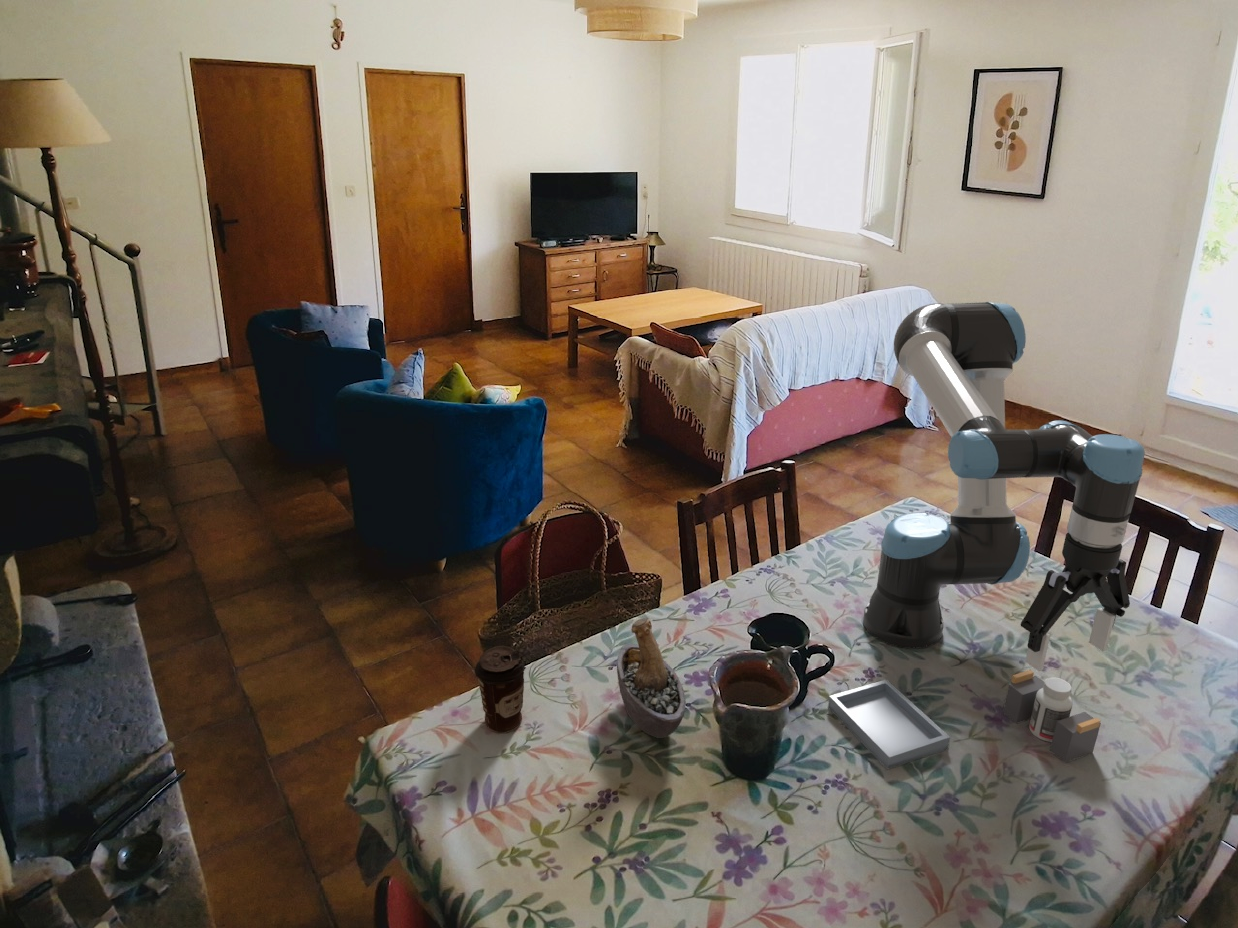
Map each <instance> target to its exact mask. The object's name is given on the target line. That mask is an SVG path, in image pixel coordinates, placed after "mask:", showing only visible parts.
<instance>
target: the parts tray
mask: <svg viewBox="0 0 1238 928" xmlns="http://www.w3.org/2000/svg"><path fill="white" fill-rule="evenodd" d="M827 708H828V709H829V710H830V712H832V713H833V714H834V715H835V716H836V718H838V719H839V721H840V722H842V724H843V725H844V726H845V727H846V728H847V729H848V730H849V731H850V733H852V734H853V735H854V737H856V738H857V740H858V741H860V742H861V744H863V746H864V747H865V748H866V749H867V750H868V752H870V753H871V754H872V755H873V756H874V757H875V759H877V761H879V763H880V764H882V766H883V767H884V768H885V769H886V770H887V771H888V770H890V769H893V768H894V769H895V768H896V767H899V766H900V767H901V766H902V765H905V764H908V763H911V762H914V761H918V760H920V759H922V758H927V757H929V756H932V755H935V754H938V753H941V752H944V751H947V750H949V745H950V739H951V737H950V736H949V734H947V732H946V731H944V730H943V729H942V728H941V727H940V726H938V725H937V723H936V722H934V721H933V720H932V719H930V717H929V716H928V715H926V714H925V713H924V712H923V711H922V710H921V709H920V708H918V707H917V705H915V704H914V702H912V701H911V700H910V699H909V698H908V697H907V696H905V695H904V694H903V693H902V692H901V691H900V690H899V689H898V688H896V687H895V686H894V685H893V684H892V683H891V682H890V681H889V680H888V679H887V678H886V679H883V680H879V681H877V682H872V683H869V684H866V685H862V686H859V687H856V688H852V689H849V690H848V689H847V690H845V691H842V692H837V693H834V694H832V695H829V697H828V705H827Z"/></svg>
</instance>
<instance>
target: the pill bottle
mask: <svg viewBox="0 0 1238 928" xmlns="http://www.w3.org/2000/svg"><path fill="white" fill-rule="evenodd" d="M1071 692H1072V686H1071V684H1070V683H1069V682H1068V681H1066V680H1064V679H1062V678H1059V677H1051V676H1050V677H1047V678H1046V679H1045V680H1044V686H1043V688H1041V689H1040V690H1038V692H1037V694H1036V698H1035V702H1034V707H1033V711H1032V715H1031V719H1029V720H1030V721H1029V725H1028V728H1029V730H1030V732H1031V733H1032V734H1033V736H1035V737H1036V738H1038V739H1040V740H1042V741H1044V742H1049V743H1052V739H1053V735H1054V731H1055V727H1056V724H1057V721H1059V720H1062V719H1065V718H1068V717H1071V713H1072V709H1073V699H1072V698H1071Z"/></svg>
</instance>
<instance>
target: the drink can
mask: <svg viewBox="0 0 1238 928" xmlns="http://www.w3.org/2000/svg"><path fill="white" fill-rule="evenodd" d="M523 657H524V655H523V654H522V653H521V652H520V651H519V650H517V649H515V648H512V647H510V646H506V645H497V646H494V647H491V648H488V649H487V650H485V651H484V652H483V653H482V654H481V655H480V657H479V660H478V662H477V663H476V665H475V668H474V676H475V677H476V678H477V680H478V684H479V685H478V686H479V691H480V698H481V704H482V710H483V711H484V713H485V714H484V722H485V725H486V727H487V728H488V729H489V730H490V731H492V732H494V733H496V734H497V733H498V734H503V733H510V732H512V731H514V730H515V729H517V728H518V727H519V726H520V725H521V723H522V720H523V717H522V716H523V713H522V709H523V706H524V704H523V703H524V693H525V692H524V690H525V678H524V676H525V670H526V669H527V667H526V666H525V662H524V660H523Z"/></svg>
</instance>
